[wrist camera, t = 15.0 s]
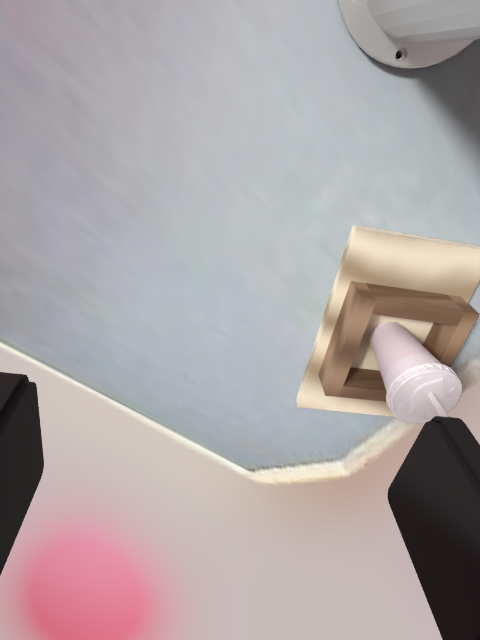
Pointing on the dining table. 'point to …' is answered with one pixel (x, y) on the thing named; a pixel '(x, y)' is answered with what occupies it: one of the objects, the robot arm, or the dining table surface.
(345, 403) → the socket stand
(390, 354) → the smoothie
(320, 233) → the dining table surface
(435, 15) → the robot arm
